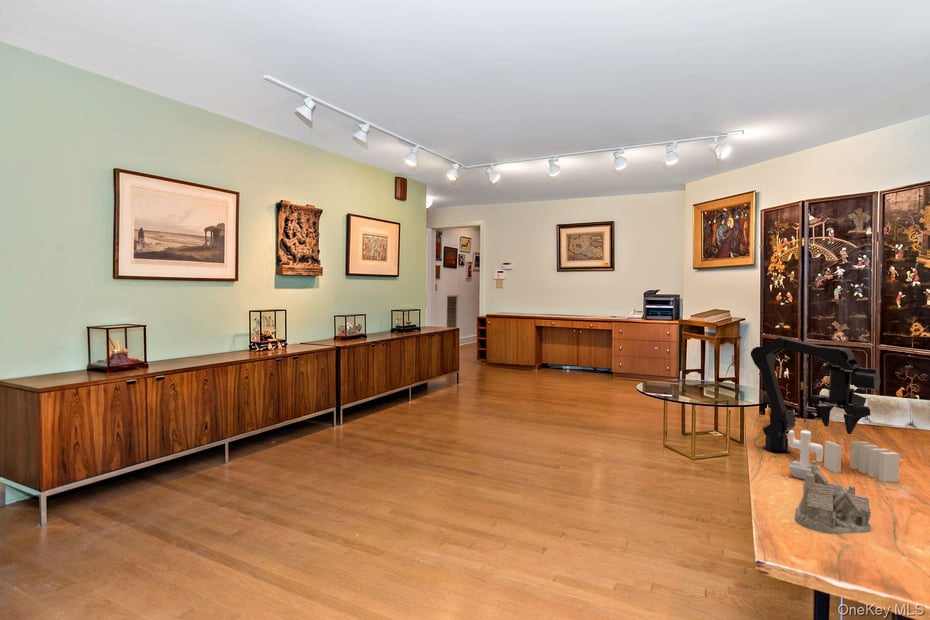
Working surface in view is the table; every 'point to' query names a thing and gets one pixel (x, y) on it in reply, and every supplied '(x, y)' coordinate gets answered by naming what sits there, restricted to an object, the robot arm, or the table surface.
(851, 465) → the domino
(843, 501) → the ceramic cottage
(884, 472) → the domino
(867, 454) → the domino
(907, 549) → the table surface
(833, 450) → the domino
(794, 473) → the figurine
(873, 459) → the domino
